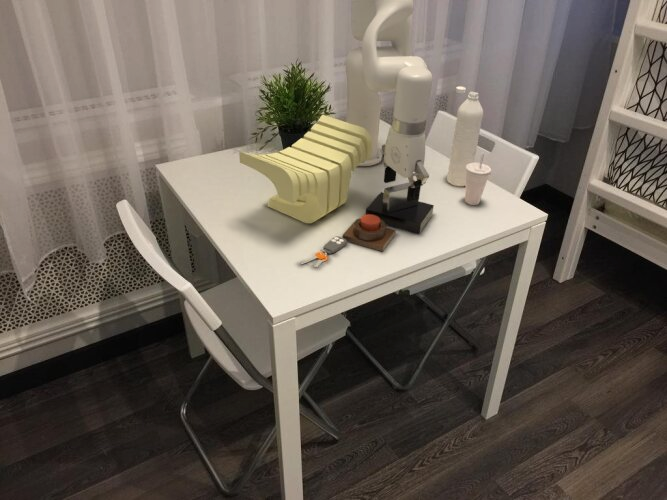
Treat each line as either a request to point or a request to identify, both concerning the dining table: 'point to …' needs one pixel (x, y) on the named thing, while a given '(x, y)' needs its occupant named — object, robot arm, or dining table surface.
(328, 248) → the key chain
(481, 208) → the dining table surface
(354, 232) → the button block
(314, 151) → the slatted curved stool
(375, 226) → the button
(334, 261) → the dining table surface
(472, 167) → the smoothie
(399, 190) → the silver metal block
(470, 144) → the water bottle
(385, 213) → the plate
